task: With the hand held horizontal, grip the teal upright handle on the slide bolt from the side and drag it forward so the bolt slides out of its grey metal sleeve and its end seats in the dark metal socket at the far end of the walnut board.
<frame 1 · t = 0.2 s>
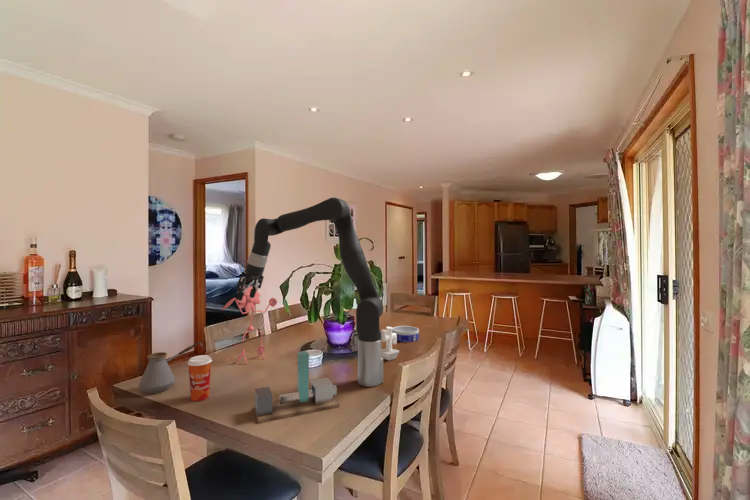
hand: (245, 298, 151), 30 cm above the table, tool tilted 20°, fingers open, 8 cm apart
slide bolt: (308, 375, 118), point 10 cm above the table, slide at 0.0 cm
coffee pot: (172, 386, 133), on the table
paper cup: (200, 398, 123), on the table
dog bowl: (405, 339, 199), on the table
figurine 2: (247, 358, 164), on the table
walnut board: (295, 407, 116), on the table
figurine: (389, 358, 166), on the table
sleeve and socket: (294, 395, 116), on the walnut board, point 4 cm above the table
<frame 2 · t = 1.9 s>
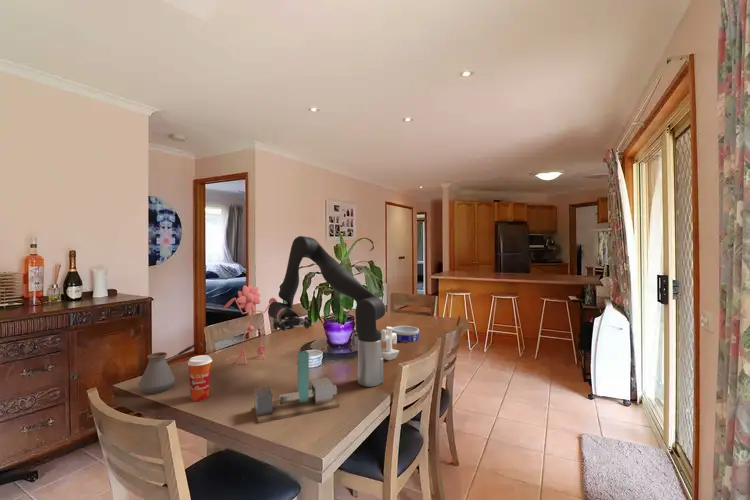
hand: (296, 327, 129), 24 cm above the table, tool horizontal, fingers open, 8 cm apart
nothing on the table moved.
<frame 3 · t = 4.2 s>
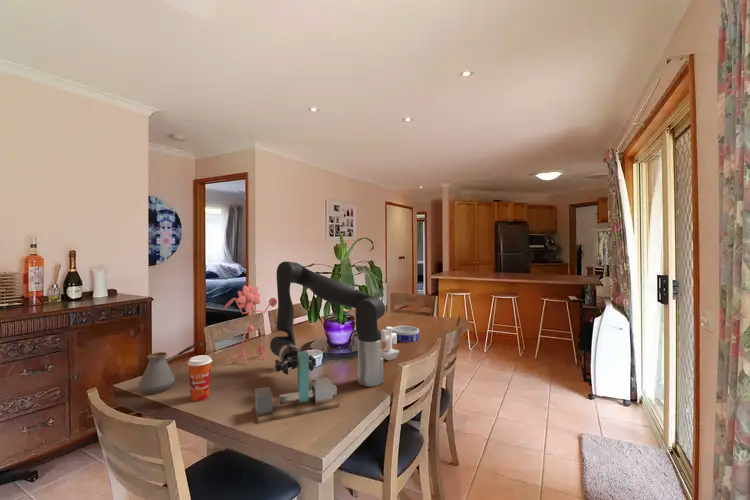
hand: (299, 369, 121), 11 cm above the table, tool horizontal, fingers open, 8 cm apart
nothing on the table moved.
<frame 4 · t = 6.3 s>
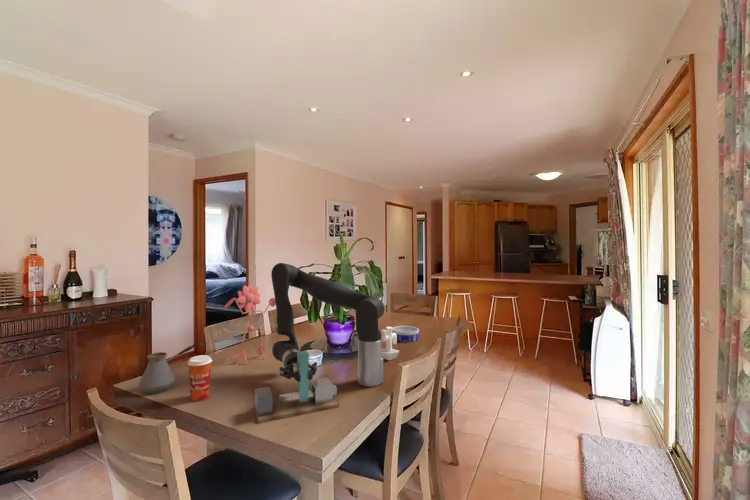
hand: (305, 378, 114), 10 cm above the table, tool horizontal, fingers closed on slide bolt, 3 cm apart
slide bolt: (308, 375, 118), point 10 cm above the table, slide at 0.0 cm, touching gripper
everything else where it was.
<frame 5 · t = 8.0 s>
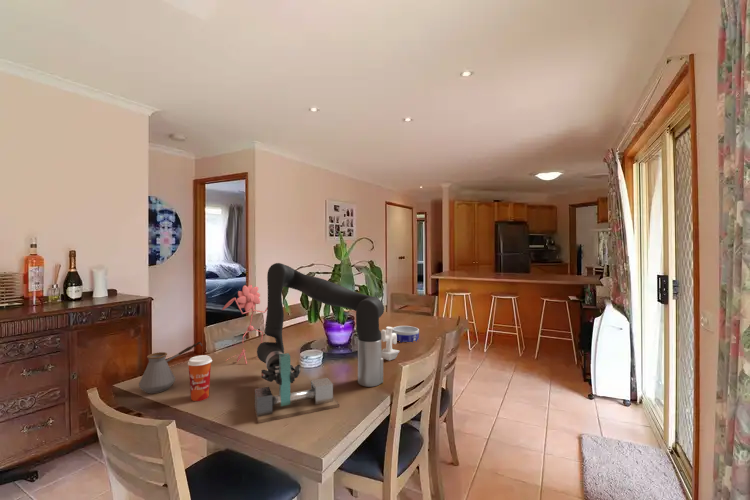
hand: (286, 380, 112), 11 cm above the table, tool horizontal, fingers closed on slide bolt, 3 cm apart
slide bolt: (290, 378, 115), point 10 cm above the table, slide at 6.0 cm, touching gripper
everything else where it was.
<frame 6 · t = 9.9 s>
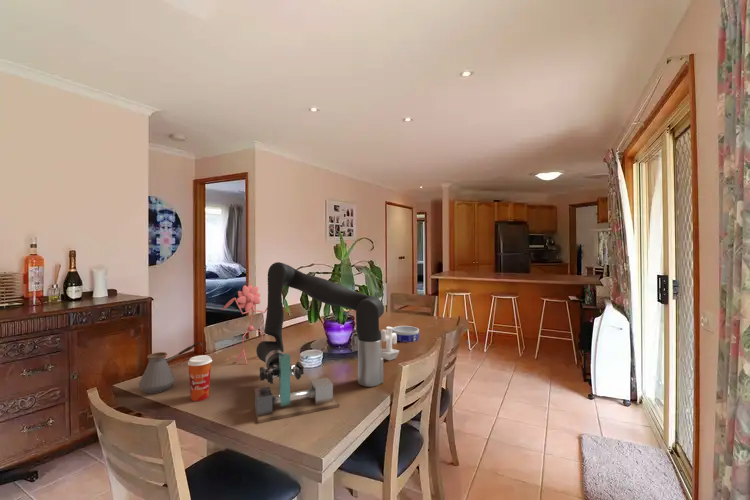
hand: (285, 378, 113), 11 cm above the table, tool horizontal, fingers open, 8 cm apart
slide bolt: (290, 378, 115), point 10 cm above the table, slide at 6.1 cm
everything else where it was.
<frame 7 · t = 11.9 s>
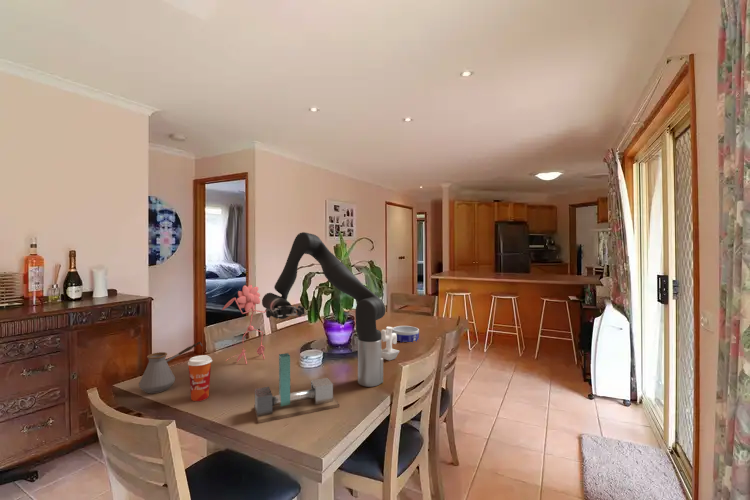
hand: (288, 314, 129), 28 cm above the table, tool horizontal, fingers open, 8 cm apart
nothing on the table moved.
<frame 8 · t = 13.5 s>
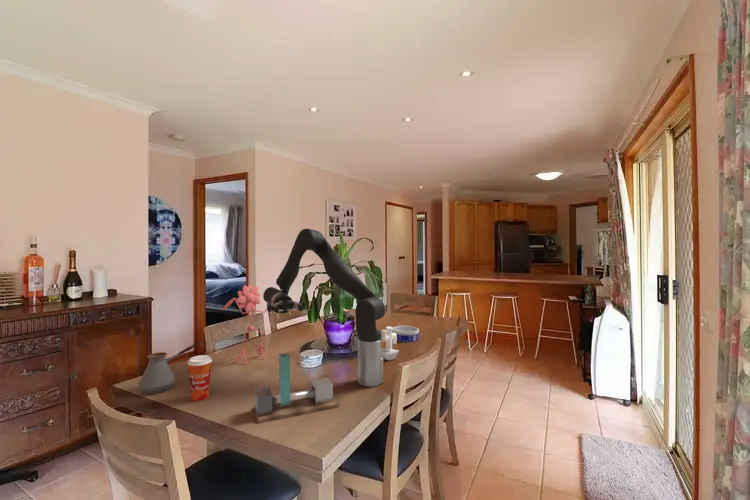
hand: (289, 309, 129), 30 cm above the table, tool horizontal, fingers open, 8 cm apart
nothing on the table moved.
at the end: slide bolt slide at 6.1 cm; the gripper is holding nothing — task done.
